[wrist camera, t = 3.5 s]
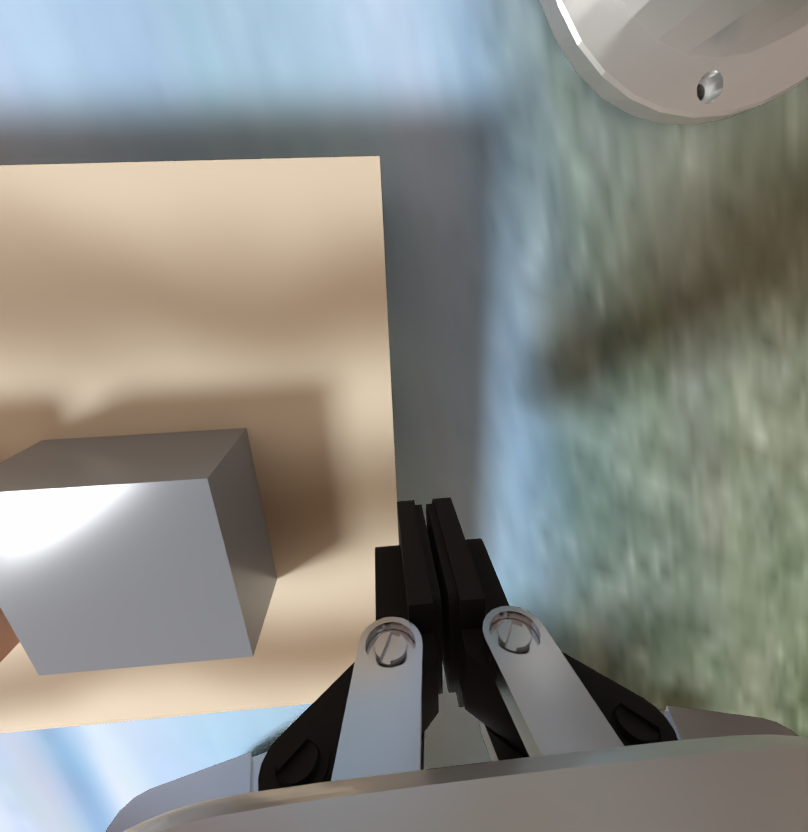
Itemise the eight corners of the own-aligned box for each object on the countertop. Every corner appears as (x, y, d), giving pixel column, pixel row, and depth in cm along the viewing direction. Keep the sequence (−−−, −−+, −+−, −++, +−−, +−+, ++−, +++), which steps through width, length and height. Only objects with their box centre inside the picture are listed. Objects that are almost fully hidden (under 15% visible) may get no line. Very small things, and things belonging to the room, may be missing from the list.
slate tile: (42, 440, 12) (-63, 496, 9) (246, 427, 12) (207, 478, 9) (106, 592, 14) (38, 675, 11) (277, 579, 14) (253, 656, 11)
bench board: (-212, 207, 13) (-531, 178, 9) (378, 190, 14) (380, 155, 10) (24, 632, 21) (-79, 740, 16) (400, 601, 22) (406, 694, 17)
